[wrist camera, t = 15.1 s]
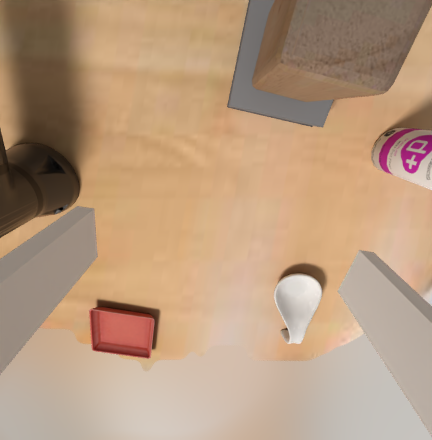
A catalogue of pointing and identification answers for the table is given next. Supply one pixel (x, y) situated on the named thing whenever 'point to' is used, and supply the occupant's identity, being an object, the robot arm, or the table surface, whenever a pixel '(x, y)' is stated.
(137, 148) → the table surface
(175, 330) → the table surface
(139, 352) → the plant saucer
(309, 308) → the spoon rest
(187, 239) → the table surface
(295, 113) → the charcoal base block
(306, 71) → the wooden block
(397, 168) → the supplement can
